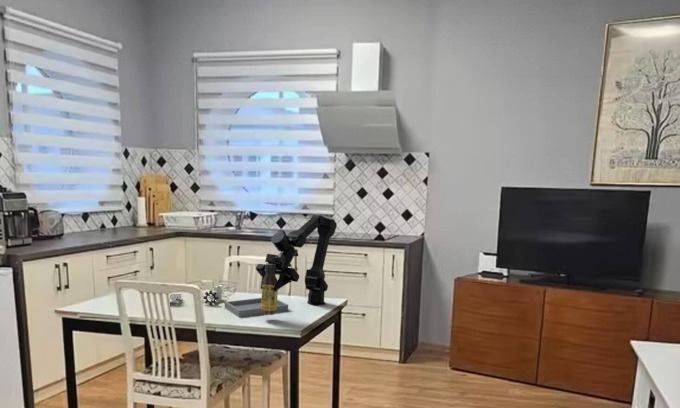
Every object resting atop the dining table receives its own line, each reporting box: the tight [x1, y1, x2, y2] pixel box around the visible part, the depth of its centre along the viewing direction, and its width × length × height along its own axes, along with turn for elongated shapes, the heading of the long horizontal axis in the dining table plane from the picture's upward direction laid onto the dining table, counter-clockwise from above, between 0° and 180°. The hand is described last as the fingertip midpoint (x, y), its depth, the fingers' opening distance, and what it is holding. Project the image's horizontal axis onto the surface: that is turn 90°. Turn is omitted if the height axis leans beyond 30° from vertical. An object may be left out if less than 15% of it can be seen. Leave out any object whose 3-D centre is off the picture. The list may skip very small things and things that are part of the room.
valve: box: [202, 284, 223, 306], centre depth 226 cm, size 7×7×12 cm
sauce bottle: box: [261, 262, 279, 316], centre depth 198 cm, size 7×6×20 cm
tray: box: [224, 297, 289, 318], centre depth 215 cm, size 22×17×2 cm
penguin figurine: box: [170, 294, 183, 305], centre depth 225 cm, size 6×8×12 cm
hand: (267, 290), depth 197 cm, fingers closed on sauce bottle, 6 cm apart
